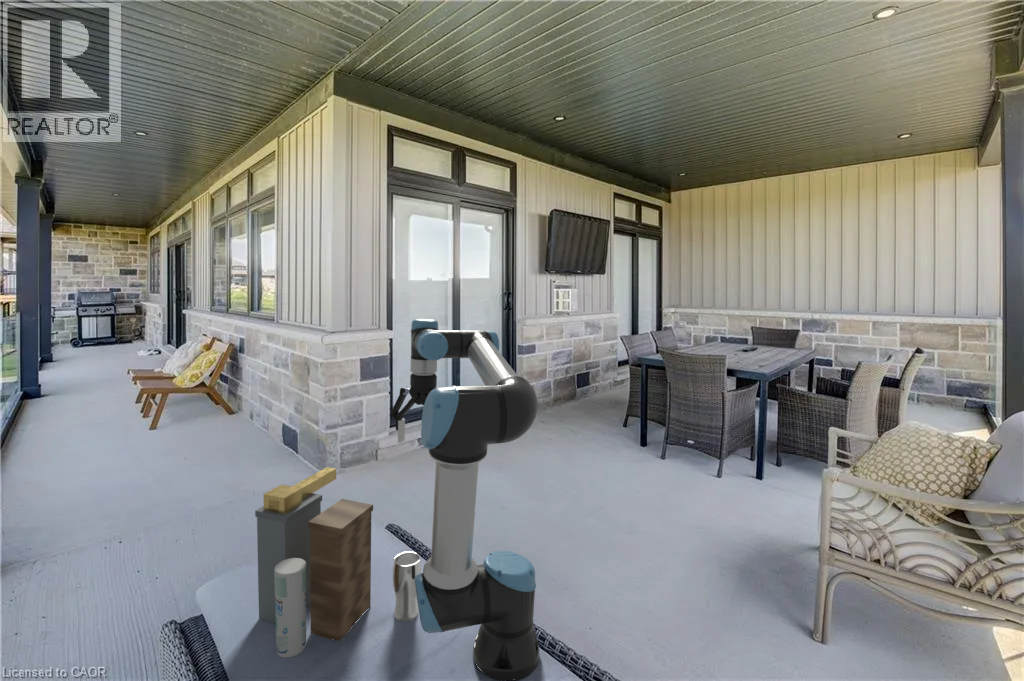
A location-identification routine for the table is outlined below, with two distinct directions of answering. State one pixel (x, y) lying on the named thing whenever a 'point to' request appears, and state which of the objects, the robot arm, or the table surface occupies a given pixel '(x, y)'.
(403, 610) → the beer glass
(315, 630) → the block
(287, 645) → the spray can
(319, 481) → the pin
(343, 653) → the table surface
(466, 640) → the table surface
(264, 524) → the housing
